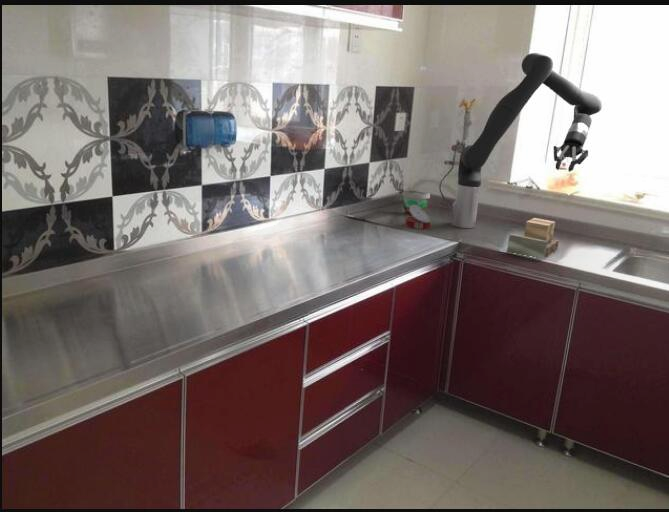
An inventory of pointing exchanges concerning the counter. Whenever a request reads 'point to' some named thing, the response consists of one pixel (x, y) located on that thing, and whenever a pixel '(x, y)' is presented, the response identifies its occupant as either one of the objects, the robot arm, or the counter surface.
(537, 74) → the robot arm
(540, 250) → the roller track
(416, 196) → the food container
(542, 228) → the cardboard box
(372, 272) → the counter surface
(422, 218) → the canned food
